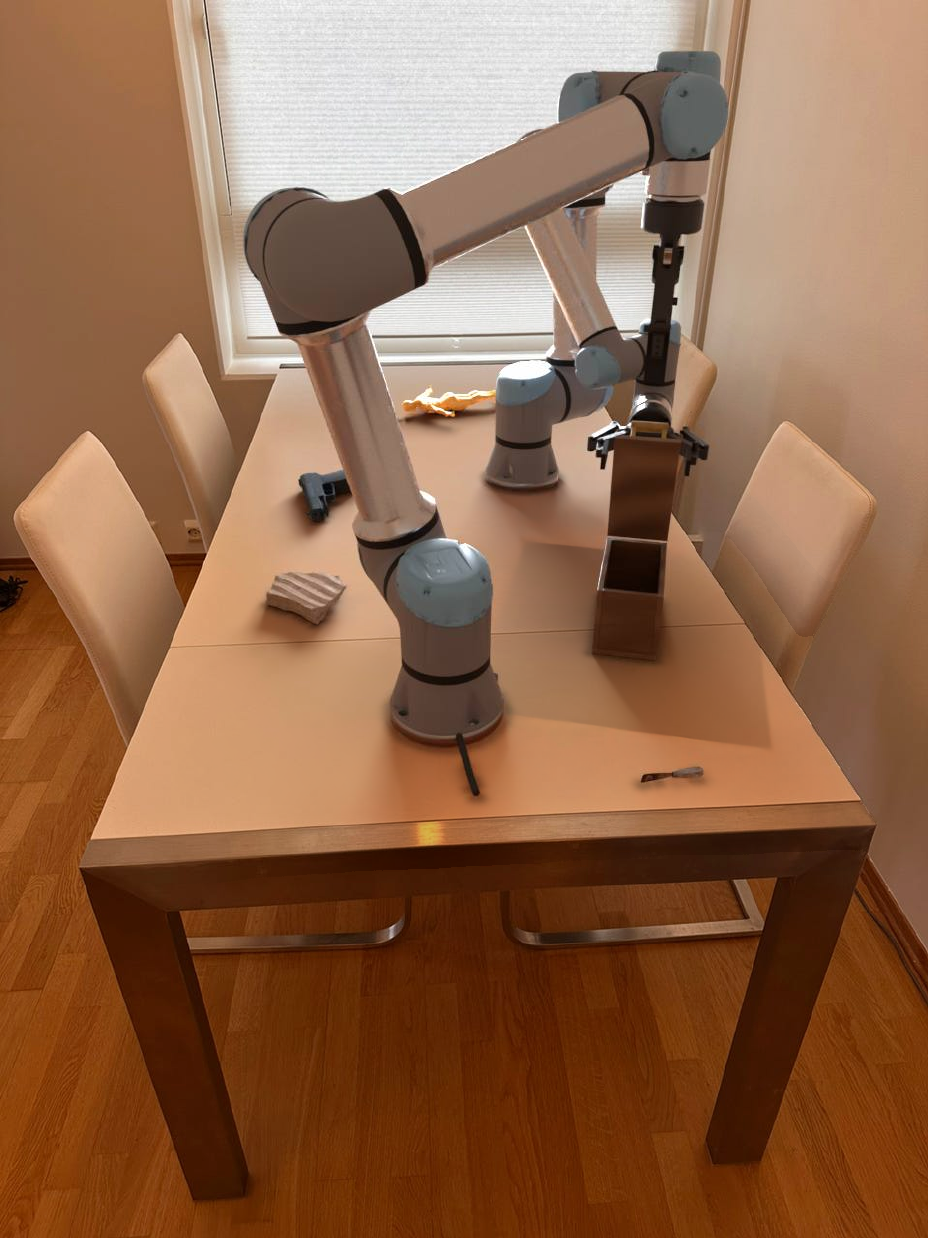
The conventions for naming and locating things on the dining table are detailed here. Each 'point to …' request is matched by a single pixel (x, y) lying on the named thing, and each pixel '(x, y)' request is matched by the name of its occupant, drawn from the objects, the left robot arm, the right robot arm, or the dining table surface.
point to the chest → (630, 599)
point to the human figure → (446, 402)
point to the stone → (305, 593)
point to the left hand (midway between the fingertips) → (655, 367)
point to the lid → (643, 483)
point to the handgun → (322, 491)
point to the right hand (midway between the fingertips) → (645, 465)
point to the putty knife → (674, 774)
